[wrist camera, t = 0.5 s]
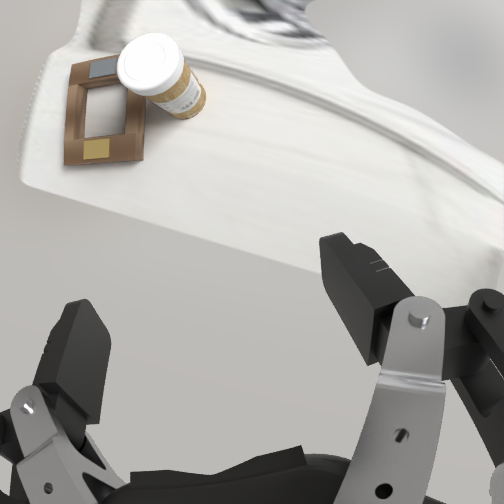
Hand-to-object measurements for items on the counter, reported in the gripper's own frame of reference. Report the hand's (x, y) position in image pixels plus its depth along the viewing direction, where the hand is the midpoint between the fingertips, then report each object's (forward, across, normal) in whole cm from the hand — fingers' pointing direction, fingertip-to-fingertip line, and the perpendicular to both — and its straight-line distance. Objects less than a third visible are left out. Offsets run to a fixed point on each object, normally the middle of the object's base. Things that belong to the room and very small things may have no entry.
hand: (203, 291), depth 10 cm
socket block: (+28, +9, -6) cm, 30 cm away
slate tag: (+27, +8, -11) cm, 30 cm away
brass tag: (+24, +10, -3) cm, 26 cm away
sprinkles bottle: (+26, 0, -5) cm, 27 cm away
